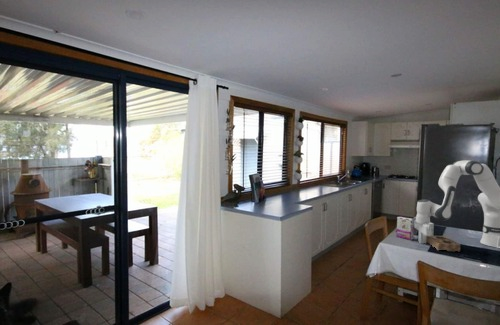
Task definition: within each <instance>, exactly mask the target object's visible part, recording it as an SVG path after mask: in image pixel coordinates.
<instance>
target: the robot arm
mask: <svg viewBox="0 0 500 325" xmlns="http://www.w3.org/2000/svg"><path fill="white" fill-rule="evenodd" d="M462 175H464V176H473V180H474V181H475V183H476V185H477V187H478V189H479V190H480V191H481V193H479V194H478V196H477V201H478V202H479V204H480V205H481V207H482V208H481V209H482V211H483V224H482V236H481V239H480V240H479V242H480V243H481V244H483V245H485V246H488V247H493V248H496V249H500V185H499V184H498V182H497V180H496V178H495V176H494V173H493V172H492V171H491V168H489V166H488V165H487V164H485V163H480V162H479V161H476V160H470V159H469V160H468V159H467V160H456V161H454V162H453V163H452V164H448V165H446V167H445V168H444V169H443V171H442V172H441V174H440V177H439V179H438V183H437V184H438V187H439V188H440V189H441V190H442V191H443V192H444V198H443V201H442V203H441V205H440V204H437V203H434V202H432V201H431V200H429V199H426V198H425V199H424V198H423V199H422V198H421V199H419V200H417V204H416V216H414V217H413V219H414V230H417V232H418V231H421V233H423V237H422V239H424V240H425V239H426V236H431V235H432V233H431V226H430V225H429V224H430V223H431V217H433V218H437V219H438V220H440V221H443V222H444V221H447V220H450V218H451V217H452V215H453V206H454V203H455V199H456V195H457V184H458V181H459V179H460V177H461V176H462Z"/></svg>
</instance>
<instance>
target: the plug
mask: <svg viewBox="0 0 500 325" xmlns="http://www.w3.org/2000/svg"><path fill="white" fill-rule="evenodd" d="M417 233H418V234H417V237H418V238H417V240H418V241H417V242H418V243H419V244H424V243H425V244H424V245H426V244H427V242H426V239H425V240H424V239H422V237H423V233H421V231H418V230H417Z"/></svg>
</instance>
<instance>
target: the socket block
mask: <svg viewBox="0 0 500 325" xmlns="http://www.w3.org/2000/svg"><path fill="white" fill-rule="evenodd" d="M426 244H428V245H430V246H431V245H432V246H431V247H433V248H434V247H435V248H436V251H439V250H447V251H446V252H455V251H458V253H460V252H461V244H460V243H458V242H457V241H454V240H453V239H451V238H450V237H449V236H447V235H433V236H432V235H431V236H426ZM435 248H434V249H435Z"/></svg>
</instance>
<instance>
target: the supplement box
mask: <svg viewBox="0 0 500 325" xmlns="http://www.w3.org/2000/svg"><path fill="white" fill-rule="evenodd" d="M429 225H430V226H431V233H432V236H434V228H435V227H434V225H435V223H433V222H430V224H429Z"/></svg>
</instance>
